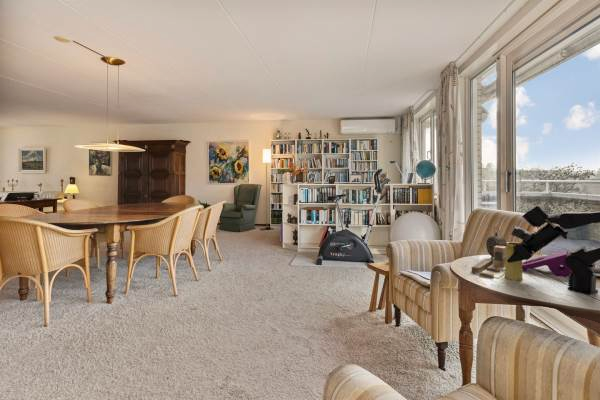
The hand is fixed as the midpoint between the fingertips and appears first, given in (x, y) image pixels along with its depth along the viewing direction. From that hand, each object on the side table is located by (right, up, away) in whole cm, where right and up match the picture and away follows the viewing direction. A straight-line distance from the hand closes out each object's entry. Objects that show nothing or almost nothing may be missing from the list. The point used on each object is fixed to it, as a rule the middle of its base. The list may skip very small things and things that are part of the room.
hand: (509, 260), depth 131 cm
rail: (-1, -6, +11) cm, 13 cm away
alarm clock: (+11, -5, +28) cm, 31 cm away
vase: (+1, -7, -1) cm, 7 cm away
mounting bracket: (+20, -7, +7) cm, 22 cm away
